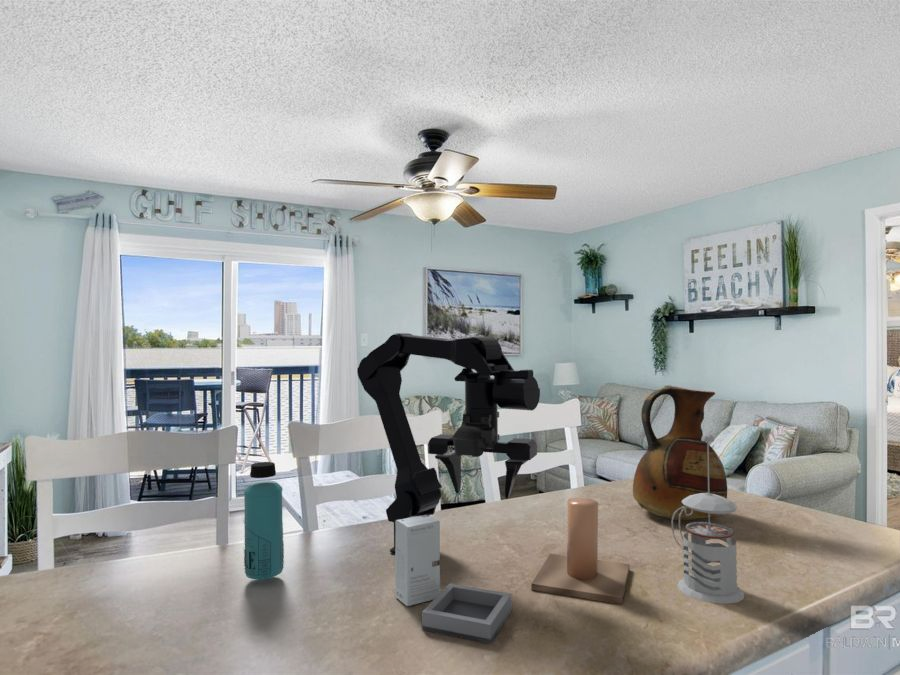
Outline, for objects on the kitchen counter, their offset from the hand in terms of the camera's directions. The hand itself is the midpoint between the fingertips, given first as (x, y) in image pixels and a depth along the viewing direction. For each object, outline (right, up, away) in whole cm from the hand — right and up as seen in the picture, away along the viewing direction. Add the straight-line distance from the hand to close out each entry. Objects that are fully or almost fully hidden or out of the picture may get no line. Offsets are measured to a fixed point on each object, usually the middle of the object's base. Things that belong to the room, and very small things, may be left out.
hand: (482, 495), depth 99 cm
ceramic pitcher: (+47, -13, +30) cm, 58 cm away
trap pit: (-3, -13, -18) cm, 23 cm away
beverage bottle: (-37, -14, -4) cm, 40 cm away
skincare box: (-11, -13, -11) cm, 20 cm away
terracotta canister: (+17, -12, -5) cm, 21 cm away
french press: (+36, -13, -8) cm, 39 cm away
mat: (+17, -13, -5) cm, 21 cm away
